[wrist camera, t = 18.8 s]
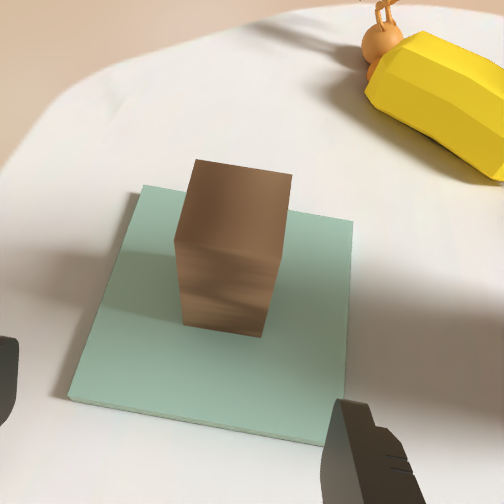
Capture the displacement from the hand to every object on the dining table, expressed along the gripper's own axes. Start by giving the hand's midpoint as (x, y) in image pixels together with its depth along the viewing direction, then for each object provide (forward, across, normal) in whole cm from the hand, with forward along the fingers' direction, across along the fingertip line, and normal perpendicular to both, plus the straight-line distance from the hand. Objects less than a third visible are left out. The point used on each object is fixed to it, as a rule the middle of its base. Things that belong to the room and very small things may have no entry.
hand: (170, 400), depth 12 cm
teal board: (+20, 0, +4) cm, 21 cm away
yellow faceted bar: (+36, -16, -10) cm, 40 cm away
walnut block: (+19, 0, +4) cm, 20 cm away
